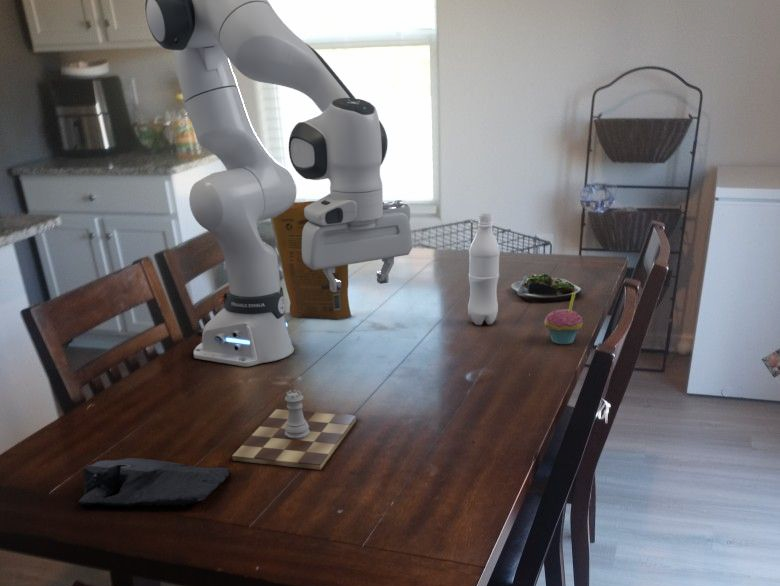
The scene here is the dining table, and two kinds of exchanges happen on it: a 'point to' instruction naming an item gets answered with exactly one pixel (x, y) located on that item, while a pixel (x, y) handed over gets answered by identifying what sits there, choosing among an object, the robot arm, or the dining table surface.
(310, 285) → the pancake mix bag
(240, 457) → the chessboard
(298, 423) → the rook chess piece
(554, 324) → the cupcake
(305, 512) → the dining table surface
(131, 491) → the dark slate chunk
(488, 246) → the water bottle
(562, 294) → the salad plate
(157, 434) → the dining table surface
